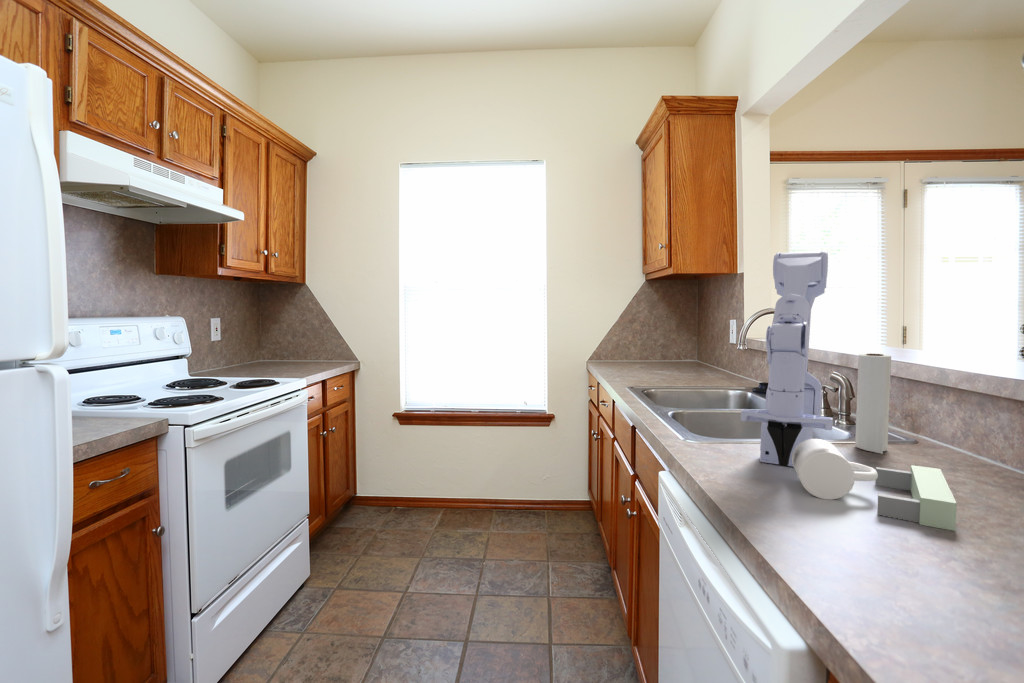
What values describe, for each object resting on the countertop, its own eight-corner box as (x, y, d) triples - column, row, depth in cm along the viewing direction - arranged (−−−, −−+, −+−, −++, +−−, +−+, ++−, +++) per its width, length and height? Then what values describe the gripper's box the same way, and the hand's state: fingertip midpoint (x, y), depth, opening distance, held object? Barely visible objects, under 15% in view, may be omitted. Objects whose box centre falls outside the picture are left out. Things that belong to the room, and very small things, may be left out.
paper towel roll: (859, 443, 121) (862, 352, 119) (890, 448, 116) (894, 354, 115) (850, 449, 116) (853, 354, 115) (882, 455, 111) (886, 356, 110)
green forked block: (877, 516, 78) (878, 491, 78) (875, 482, 94) (876, 460, 94) (955, 530, 73) (956, 503, 73) (939, 491, 89) (940, 468, 89)
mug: (798, 496, 87) (800, 450, 87) (791, 478, 96) (792, 436, 96) (883, 506, 83) (885, 457, 82) (867, 486, 92) (869, 442, 91)
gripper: (738, 389, 94) (736, 462, 94) (832, 396, 85) (829, 477, 86) (745, 384, 99) (743, 454, 100) (834, 391, 91) (831, 466, 92)
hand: (783, 464), depth 94 cm, fingers closed
